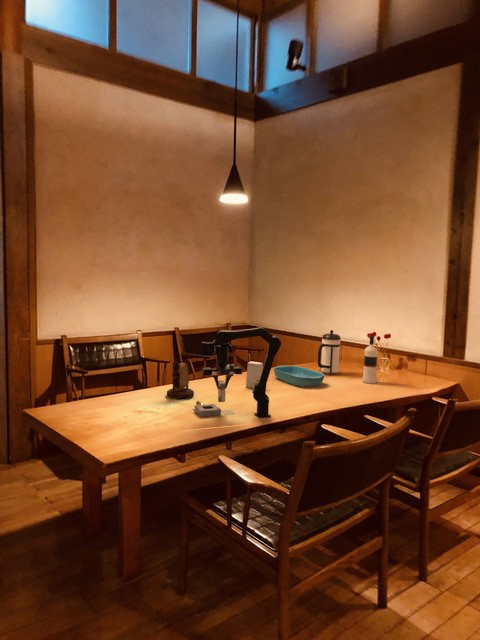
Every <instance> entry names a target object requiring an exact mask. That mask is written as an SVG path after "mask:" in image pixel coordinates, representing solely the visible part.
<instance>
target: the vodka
mask: <svg viewBox="0 0 480 640" xmlns="http://www.w3.org/2000/svg"><path fill="white" fill-rule="evenodd" d="M374 341H375V336H374V335H369V345H368V346H367V347H365V349H364V352H363V353H364V354H363V355H364V356H363V357H364V359H363V370H362V371H363V374H362V378H361V381H362V383H364V384H371V385H373V384H376V383H377V382H378V378H377V370H378V367H377V365H378V355H379V351H378V349H377V347H375V346H374V345H375V344H374V343H375V342H374Z"/></svg>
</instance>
